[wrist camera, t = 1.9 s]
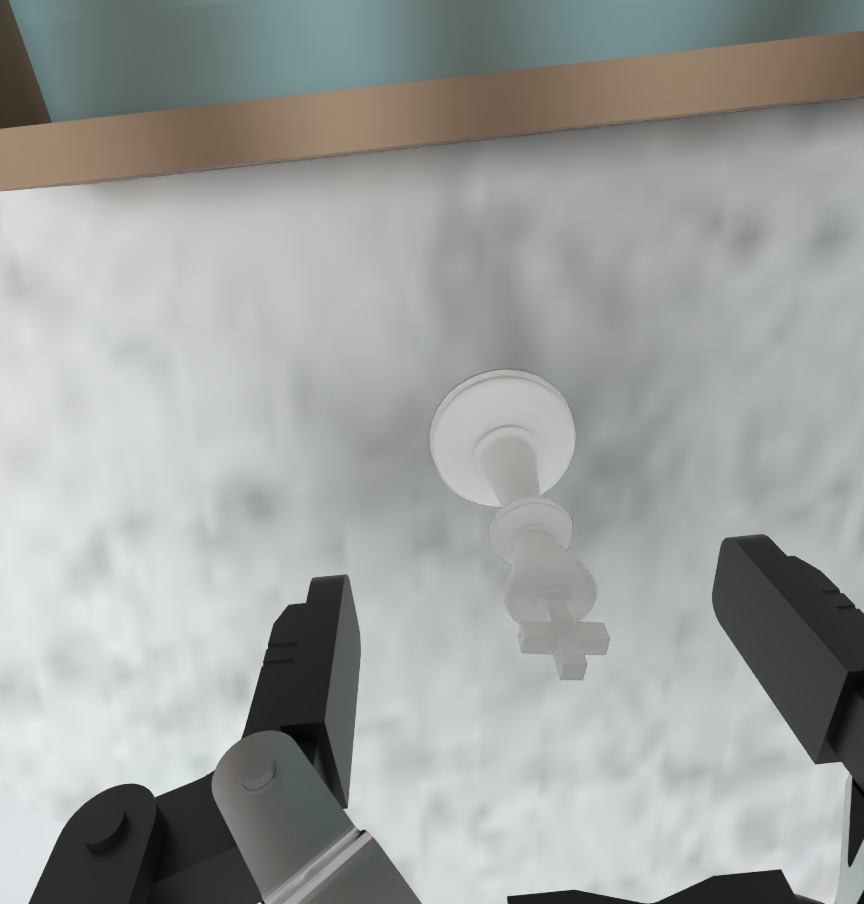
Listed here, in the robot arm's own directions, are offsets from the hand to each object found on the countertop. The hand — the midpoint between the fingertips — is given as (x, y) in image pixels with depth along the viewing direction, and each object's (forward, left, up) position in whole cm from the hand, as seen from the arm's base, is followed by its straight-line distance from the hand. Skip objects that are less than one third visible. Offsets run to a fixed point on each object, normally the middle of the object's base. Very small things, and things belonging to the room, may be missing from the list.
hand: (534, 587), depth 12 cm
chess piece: (0, 0, -8) cm, 8 cm away
